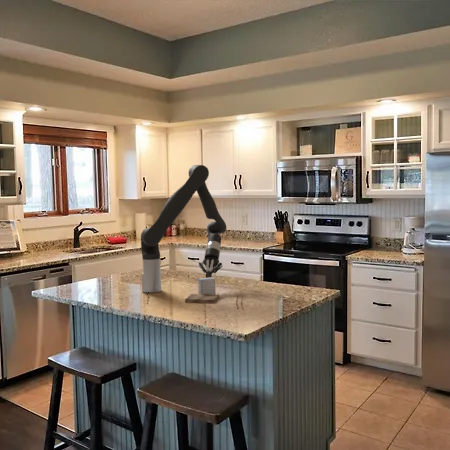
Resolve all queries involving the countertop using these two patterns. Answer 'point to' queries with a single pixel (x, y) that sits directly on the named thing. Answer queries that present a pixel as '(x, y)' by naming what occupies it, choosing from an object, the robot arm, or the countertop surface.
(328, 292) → the countertop surface
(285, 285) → the countertop surface
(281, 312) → the countertop surface
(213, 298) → the board
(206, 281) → the medicine box
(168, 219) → the robot arm
